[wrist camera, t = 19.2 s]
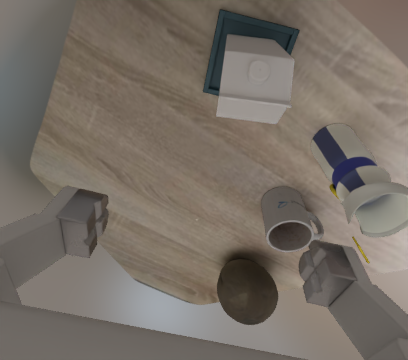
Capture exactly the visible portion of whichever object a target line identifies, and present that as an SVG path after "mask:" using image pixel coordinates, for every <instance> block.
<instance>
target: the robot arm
mask: <svg viewBox="0 0 408 360" xmlns="http://www.w3.org/2000/svg"><path fill="white" fill-rule="evenodd" d="M107 204H108V196H107V195H105V194H101V193H97V192H93V191H89V190H85V189H79V188H75V187H71V186H66V187H64V188H63V189H62V190H61V191H60V192H59V193H58V194H57V195H56V196H55V198H54V199H53V200H52V201H51V202H50V203H49V204H48V205H47V206H46V208H45V209H44V210H43V211H42V212H41V213H40V214H33V215H31V216H28V217H26V218H23V219H21V220H18V221H16V222H14V223H11V224H8V225H6V226H4V227H1V228H0V360H306V359H301V358H296V357H291V356H285V355H280V354H275V353H269V352H265V351H260V350H254V349H249V348H244V347H239V346H234V345H228V344H223V343H218V342H213V341H208V340H202V339H197V338H192V337H187V336H181V335H176V334H171V333H165V332H160V331H155V330H150V329H145V328H140V327H134V326H129V325H124V324H119V323H113V322H108V321H103V320H98V319H93V318H87V317H82V316H77V315H72V314H66V313H62V312H56V311H51V310H46V309H41V308H35V307H30V306H25V305H22V304H21V301H20V298H19V296H18V293H17V291H16V289H17V288H18V287H20V286H21V285H23V284H24V283H26V282H27V281H28V280H30V279H31V278H33V277H34V276H36V275H37V274H39V273H40V272H42V271H43V270H45V269H46V268H48V267H49V266H50V265H52V264H53V263H55V262H56V261H58V260H59V259H61V258H62V257H64V256H65V255H66V254H69V255H75V256H80V257H86V258H90V256H91V254H92V252H93V250H94V249H95V247H96V245H97V237H99V236H101V235H102V234H103V232H104V230H105V228H106V225H107V222H108V216H109V211H108V210H107V209H106V206H107ZM299 273H300V276H301V277H302V279H303V280H304V281H305V283H304V285H303V289H304V293H305V297H306V301H307V303H312V304H316V305H321V306H325V307H329V308H328V309H329V311H330V312H331V314H332V315H333V316H334V318H335V319H336V321H337V322H338V323H339V325H340V326H341V327H342V329H343V330H344V332H345V333H346V334H347V336H348V337H349V339H350V340H351V341H352V343H353V344H354V345H355V347H356V348H357V350H358V351H359V352H360V354H361V355H362V357H363V358H364V360H408V314H406V313H405V312H404V311H403V310H402V309H401V308H400V307H399V306H398V305H397V304H396V303H395V302H393V301H392V300H391V299H390V298H389V297H388V296H387V295H386V294H385V293H384V292H383V291H382V290H380V289H379V288H378V287H377V286H376V285H373V284H372V283H371V281H370V279H369V277H368V275H367V273H366V271H365V269H364V267H363V265H362V263H361V261H360V259H359V257H358V255H357V253H356V251H355V250H354V249H353V248H352V247H348V246H343V245H338V244H333V243H328V242H323V241H319V240H313V241H311V243H310V244H309V251H306V252H304V253H303V254H302V256H301V258H300V261H299Z"/></svg>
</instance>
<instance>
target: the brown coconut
mask: <svg viewBox="0 0 408 360" xmlns="http://www.w3.org/2000/svg"><path fill="white" fill-rule="evenodd" d="M217 293H218V297H219V301H220V303H221V305H222V307H223V309H224V311H225V312H226V313H227V314H228V315H229V316H230V317H232V318H233V319H234V320H236V321H237V322H240V323H242V324H246V325H255V324H259V323H261V322H264V321H265V320H266V319H267V318H268V317H270V316H271V314H272V313H273V312H274V310H275V308H276V305H277V301H278V291H277V288H276V285H275V282H274V280H273V278H272V277H271V275H270V274H269V273H268V272H267V271H266V270H265V269H264V268H263V267H262V266H260V265H258V264H257V263H255V262H253V261H250V260H246V259H237V260H232V261H230V262H228V263H227V264H226V265H225V266H224V267H223V268H222V270H221V273H220V276H219V279H218V283H217Z"/></svg>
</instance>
